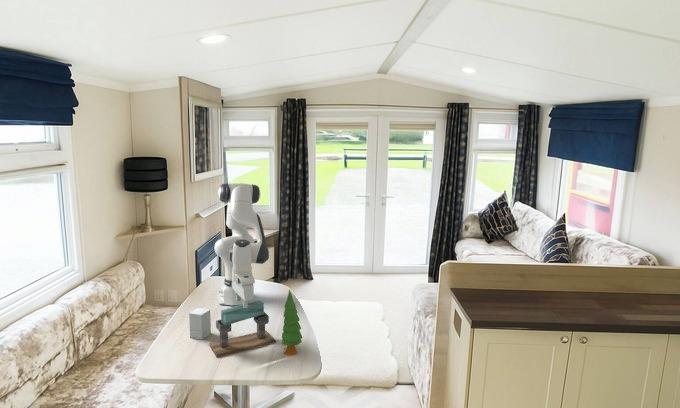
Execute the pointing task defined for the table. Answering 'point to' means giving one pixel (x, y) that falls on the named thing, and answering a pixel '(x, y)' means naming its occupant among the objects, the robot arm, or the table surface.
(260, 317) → the bracket stand
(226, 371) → the table surface
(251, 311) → the teal rail
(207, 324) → the supplement box
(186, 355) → the table surface
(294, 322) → the decorative tree
